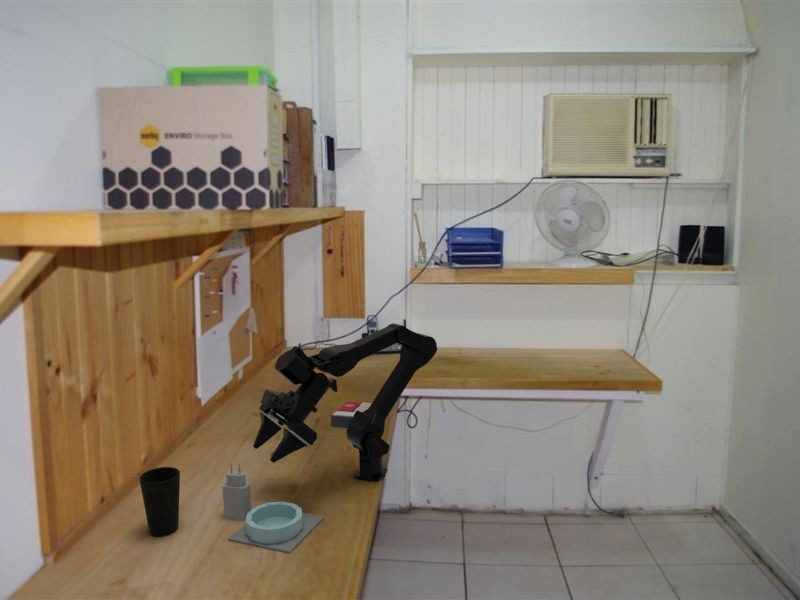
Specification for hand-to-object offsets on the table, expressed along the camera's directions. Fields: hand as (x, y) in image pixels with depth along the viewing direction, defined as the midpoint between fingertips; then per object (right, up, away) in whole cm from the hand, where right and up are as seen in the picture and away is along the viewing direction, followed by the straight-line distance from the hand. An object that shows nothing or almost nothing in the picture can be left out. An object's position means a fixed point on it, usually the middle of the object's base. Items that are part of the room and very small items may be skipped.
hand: (262, 454), depth 134 cm
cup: (-19, -14, -7) cm, 24 cm away
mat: (+5, -13, -7) cm, 16 cm away
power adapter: (-5, -13, -2) cm, 14 cm away
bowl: (+4, -13, -8) cm, 16 cm away
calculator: (+16, -4, +57) cm, 59 cm away
